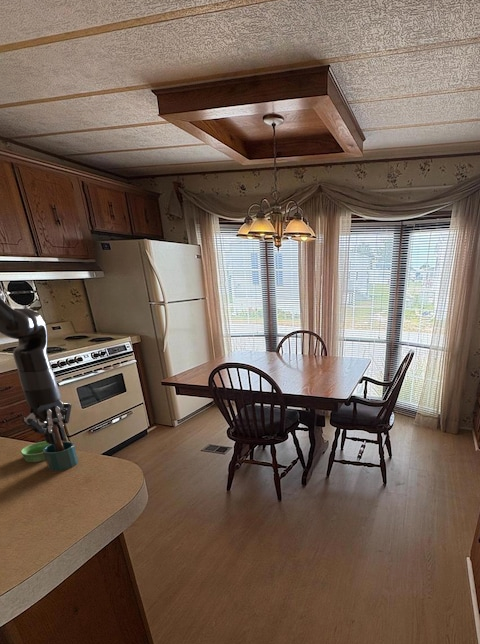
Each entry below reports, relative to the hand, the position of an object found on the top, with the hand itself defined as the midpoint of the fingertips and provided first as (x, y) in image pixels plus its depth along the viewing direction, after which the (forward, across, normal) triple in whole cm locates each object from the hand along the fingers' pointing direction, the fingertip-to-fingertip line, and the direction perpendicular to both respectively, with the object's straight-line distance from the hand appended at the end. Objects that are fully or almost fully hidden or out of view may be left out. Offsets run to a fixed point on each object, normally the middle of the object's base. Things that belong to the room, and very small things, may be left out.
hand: (56, 441), depth 100 cm
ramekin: (+10, -3, -11) cm, 15 cm away
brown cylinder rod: (+4, 0, 0) cm, 4 cm away
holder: (+9, 0, 0) cm, 9 cm away
